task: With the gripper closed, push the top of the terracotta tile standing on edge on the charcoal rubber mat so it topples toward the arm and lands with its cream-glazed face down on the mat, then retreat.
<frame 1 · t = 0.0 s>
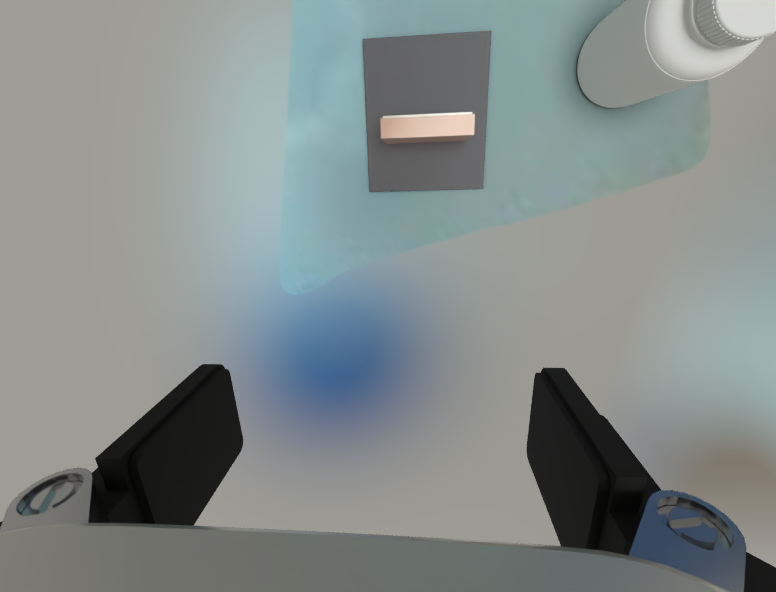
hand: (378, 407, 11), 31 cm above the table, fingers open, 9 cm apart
pill bottle: (618, 62, 34), on the table
tile: (425, 133, 36), resting on mat
mat: (425, 118, 36), on the table
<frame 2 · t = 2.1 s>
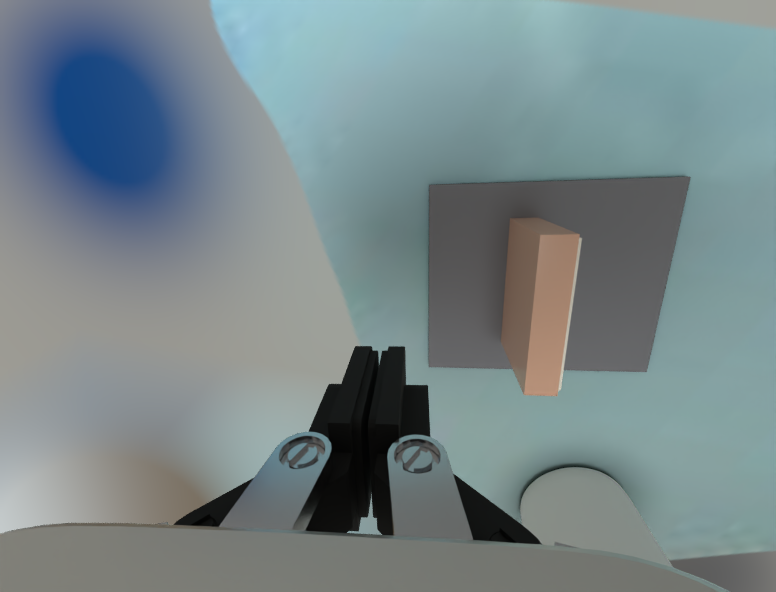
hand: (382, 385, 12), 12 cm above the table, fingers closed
pill bottle: (570, 501, 28), on the table
tile: (518, 283, 22), resting on mat
mat: (541, 281, 22), on the table
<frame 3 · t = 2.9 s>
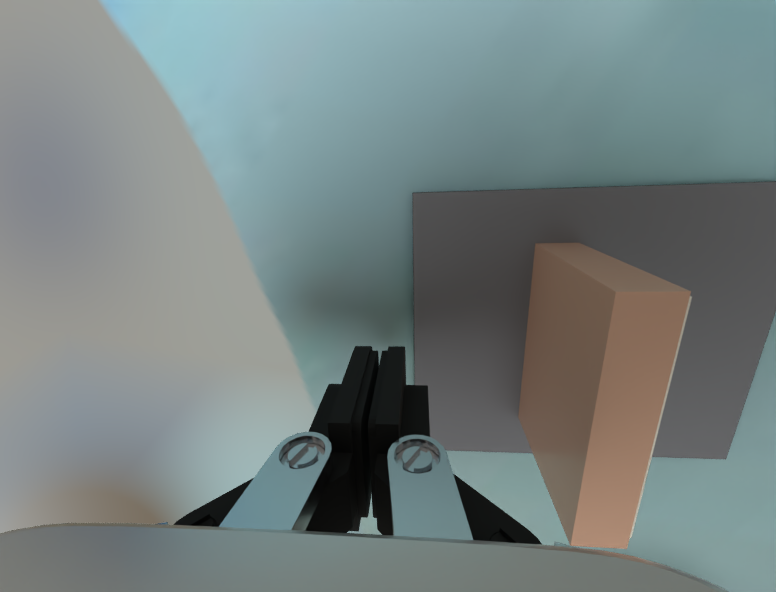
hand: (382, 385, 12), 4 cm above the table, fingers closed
tile: (545, 337, 15), resting on mat
mat: (579, 333, 15), on the table
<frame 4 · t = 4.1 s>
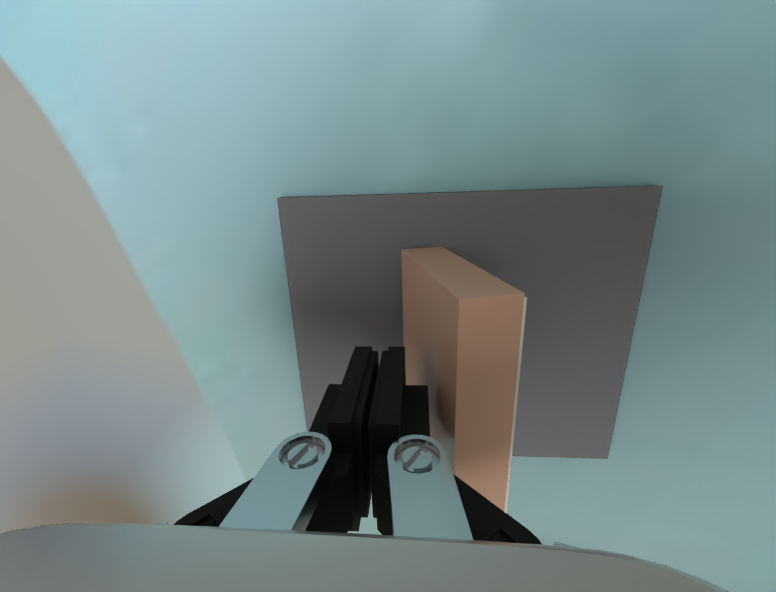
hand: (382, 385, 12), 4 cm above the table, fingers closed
tile: (422, 342, 15), point 1 cm above the table, tilted 15°, touching mat
mat: (456, 335, 16), on the table
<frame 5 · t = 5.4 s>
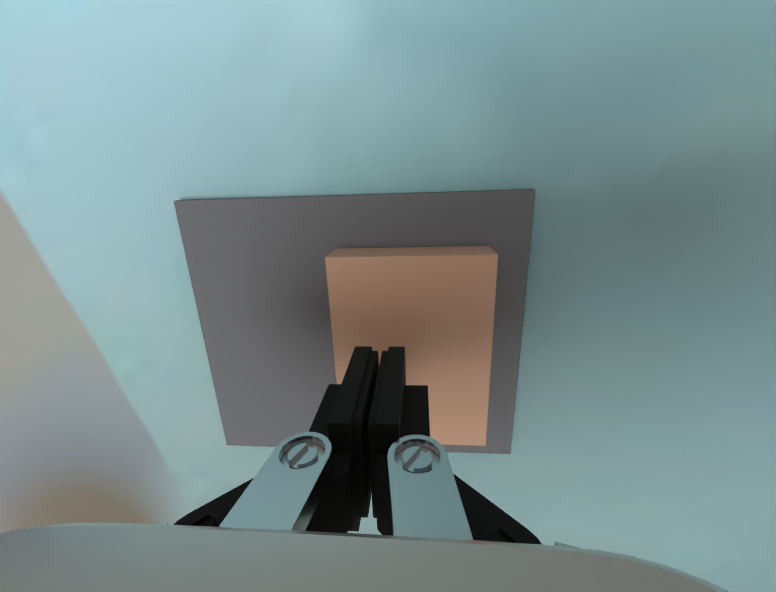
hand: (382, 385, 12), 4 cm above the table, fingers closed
tile: (338, 348, 15), point 1 cm above the table, tilted 90°, touching mat
mat: (357, 334, 16), on the table
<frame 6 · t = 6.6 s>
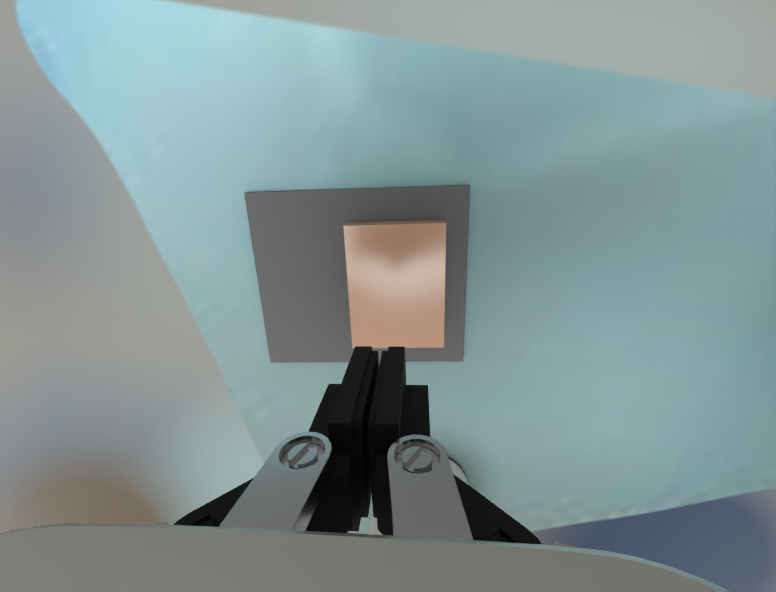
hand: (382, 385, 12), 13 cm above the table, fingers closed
pill bottle: (421, 484, 30), on the table
tile: (350, 286, 23), point 1 cm above the table, tilted 90°, touching mat
mat: (361, 280, 24), on the table
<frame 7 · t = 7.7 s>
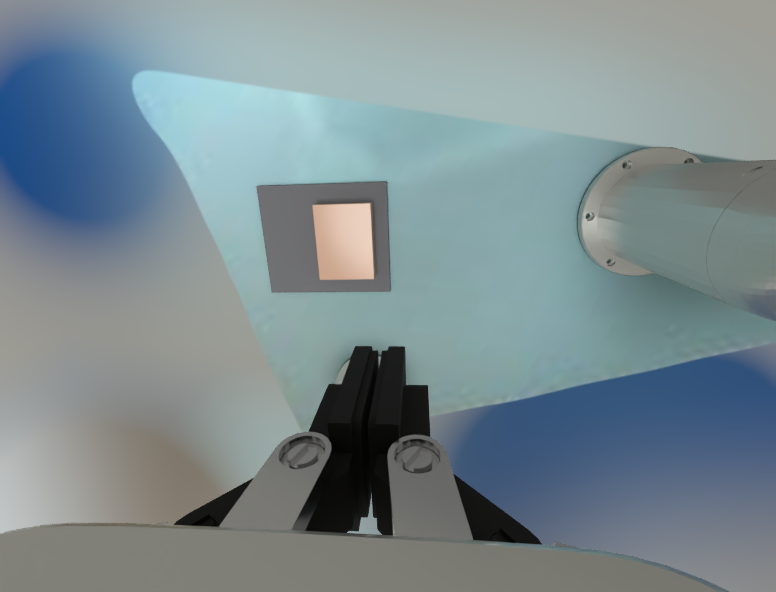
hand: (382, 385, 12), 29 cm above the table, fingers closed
tile: (318, 242, 39), point 1 cm above the table, tilted 90°, touching mat
mat: (326, 239, 40), on the table
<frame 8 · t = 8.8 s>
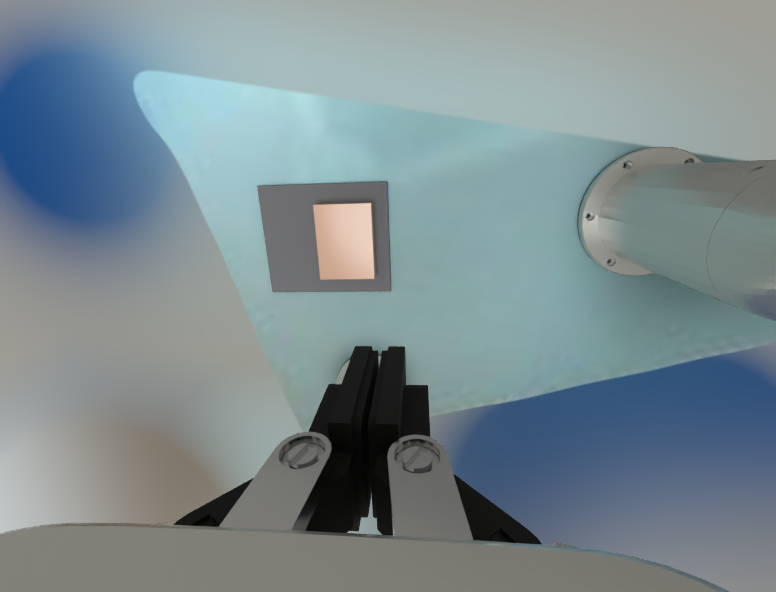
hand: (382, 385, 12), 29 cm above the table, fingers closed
tile: (318, 242, 39), point 1 cm above the table, tilted 90°, touching mat
mat: (327, 239, 40), on the table
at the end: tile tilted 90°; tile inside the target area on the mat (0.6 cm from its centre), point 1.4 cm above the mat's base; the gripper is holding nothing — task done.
